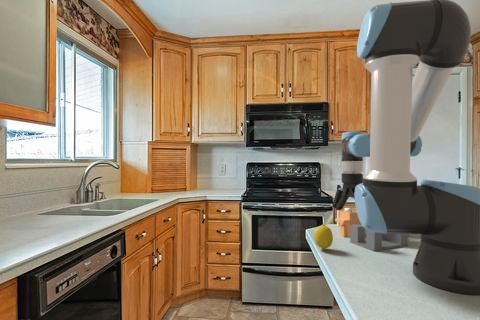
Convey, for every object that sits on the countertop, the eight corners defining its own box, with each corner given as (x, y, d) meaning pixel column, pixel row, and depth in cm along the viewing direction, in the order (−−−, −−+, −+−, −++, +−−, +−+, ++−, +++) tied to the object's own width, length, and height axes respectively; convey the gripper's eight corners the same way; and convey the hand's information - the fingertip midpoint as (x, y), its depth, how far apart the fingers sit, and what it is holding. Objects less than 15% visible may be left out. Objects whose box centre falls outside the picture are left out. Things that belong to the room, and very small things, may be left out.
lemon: (310, 248, 88) (310, 223, 88) (325, 246, 90) (325, 222, 90) (321, 253, 83) (321, 227, 83) (336, 251, 85) (336, 225, 85)
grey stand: (408, 245, 91) (408, 227, 91) (374, 251, 85) (374, 231, 85) (382, 237, 100) (382, 221, 100) (350, 242, 95) (350, 224, 95)
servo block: (369, 235, 104) (369, 208, 104) (344, 238, 99) (344, 210, 100) (359, 232, 109) (359, 206, 109) (334, 234, 104) (334, 208, 104)
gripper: (386, 174, 94) (386, 237, 94) (337, 171, 117) (337, 222, 117) (370, 174, 91) (370, 239, 91) (323, 171, 114) (323, 223, 114)
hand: (351, 230), depth 104 cm, fingers open, 12 cm apart
